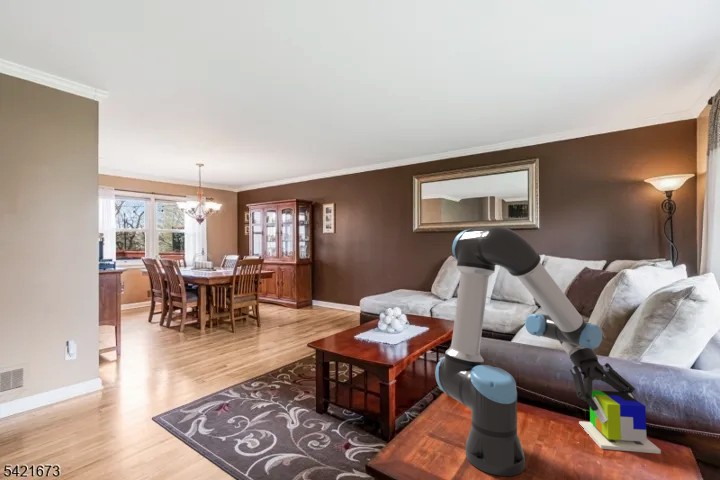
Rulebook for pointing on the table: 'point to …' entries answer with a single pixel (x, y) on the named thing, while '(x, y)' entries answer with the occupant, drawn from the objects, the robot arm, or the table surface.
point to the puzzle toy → (620, 416)
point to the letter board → (618, 441)
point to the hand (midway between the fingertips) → (623, 419)
